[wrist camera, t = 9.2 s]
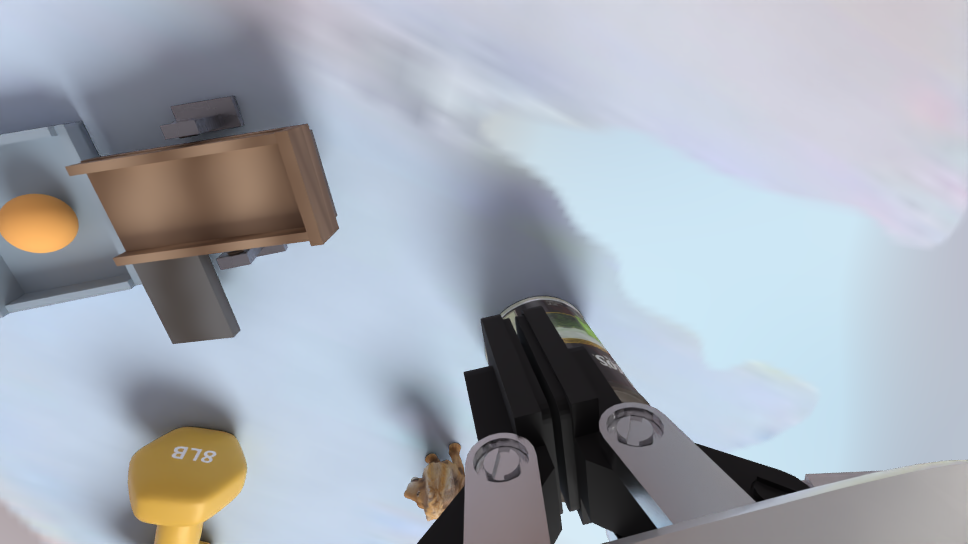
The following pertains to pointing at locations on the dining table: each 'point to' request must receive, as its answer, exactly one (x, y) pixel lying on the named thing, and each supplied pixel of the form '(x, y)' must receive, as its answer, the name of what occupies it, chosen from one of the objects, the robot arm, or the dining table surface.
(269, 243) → the brown tilting tray
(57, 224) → the ball
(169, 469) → the dumbbell
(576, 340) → the coffee can
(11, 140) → the tray
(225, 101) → the lever stand
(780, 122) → the dining table surface
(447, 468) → the lion figurine
